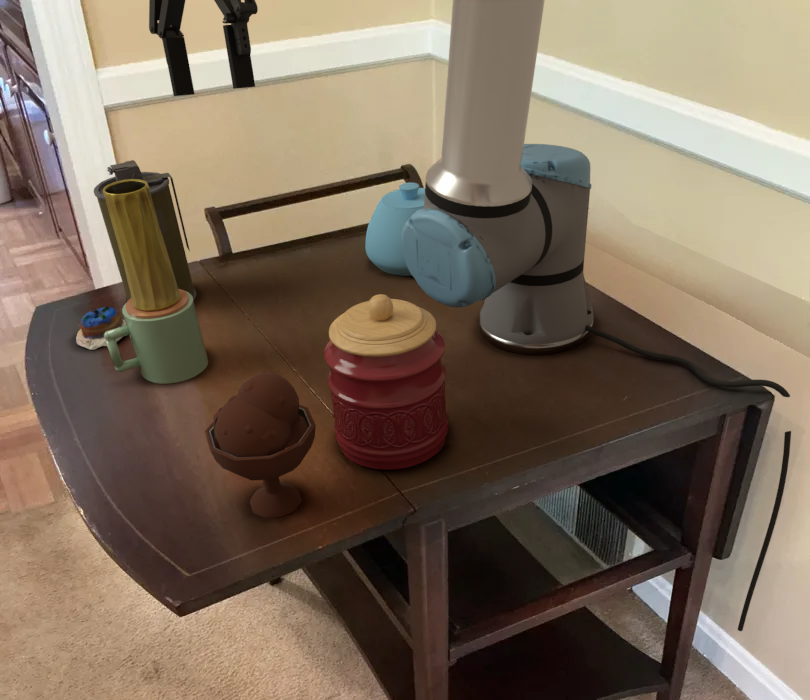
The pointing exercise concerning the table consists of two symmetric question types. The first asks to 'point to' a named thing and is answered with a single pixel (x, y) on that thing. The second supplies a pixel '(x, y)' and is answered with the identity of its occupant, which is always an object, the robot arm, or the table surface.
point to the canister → (164, 216)
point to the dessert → (98, 327)
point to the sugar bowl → (392, 227)
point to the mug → (162, 342)
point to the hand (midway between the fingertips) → (213, 92)
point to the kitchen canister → (387, 383)
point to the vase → (141, 245)
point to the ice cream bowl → (263, 439)
